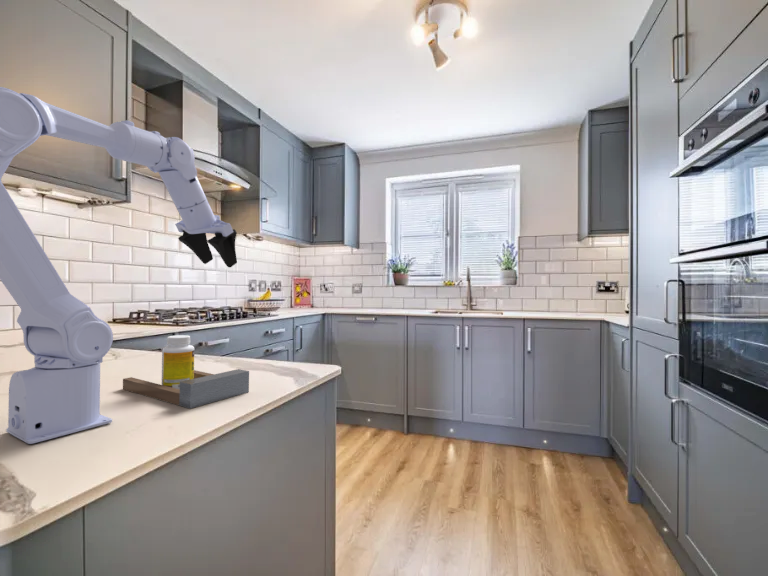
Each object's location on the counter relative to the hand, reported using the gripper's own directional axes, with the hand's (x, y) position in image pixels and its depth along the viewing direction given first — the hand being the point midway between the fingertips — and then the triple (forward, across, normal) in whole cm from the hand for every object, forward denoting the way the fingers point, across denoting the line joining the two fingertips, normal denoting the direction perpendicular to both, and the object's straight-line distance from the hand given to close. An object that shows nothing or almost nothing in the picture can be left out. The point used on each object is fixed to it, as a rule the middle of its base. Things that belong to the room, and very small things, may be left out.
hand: (220, 263), depth 81 cm
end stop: (+15, -13, +20) cm, 28 cm away
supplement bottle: (+16, -1, +21) cm, 26 cm away
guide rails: (+16, -2, +21) cm, 26 cm away
